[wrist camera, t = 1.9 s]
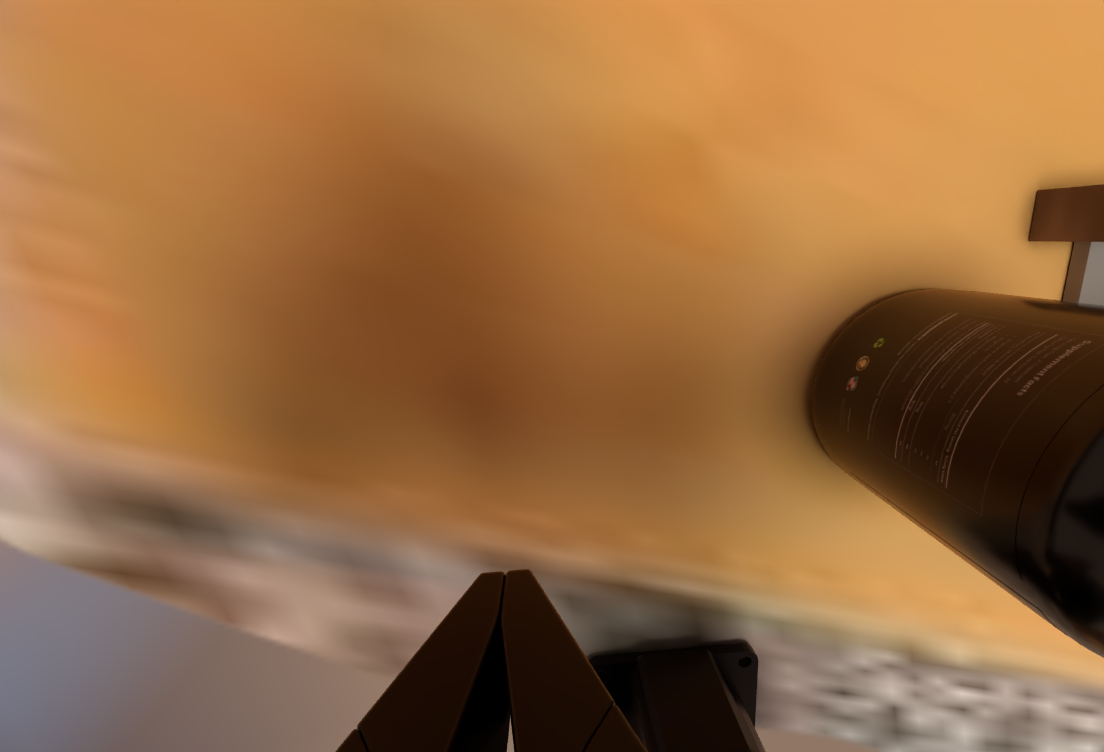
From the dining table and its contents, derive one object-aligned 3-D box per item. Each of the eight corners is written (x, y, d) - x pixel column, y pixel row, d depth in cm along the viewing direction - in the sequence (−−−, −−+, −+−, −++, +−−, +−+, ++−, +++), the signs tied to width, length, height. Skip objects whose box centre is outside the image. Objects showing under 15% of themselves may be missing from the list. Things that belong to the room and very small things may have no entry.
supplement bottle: (1043, 334, 17) (2164, 551, 5) (925, 505, 18) (1596, 960, 7) (874, 247, 16) (1808, 281, 4) (764, 435, 17) (1231, 832, 6)
